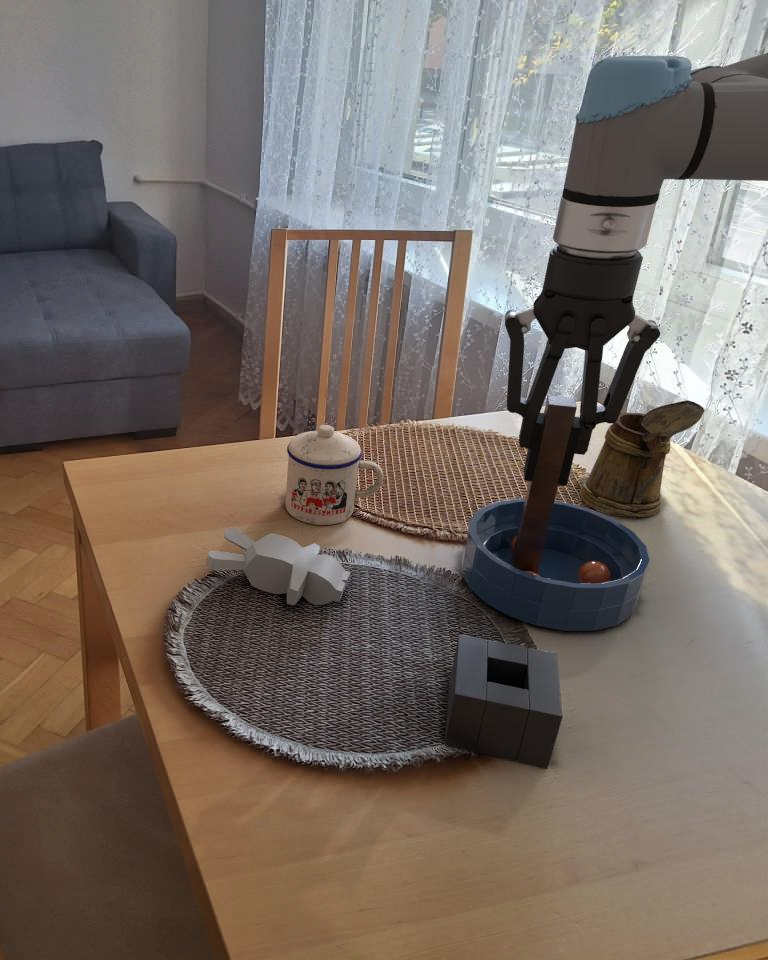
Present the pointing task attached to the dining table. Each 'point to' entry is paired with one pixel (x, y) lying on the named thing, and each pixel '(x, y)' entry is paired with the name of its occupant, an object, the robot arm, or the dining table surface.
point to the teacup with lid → (325, 476)
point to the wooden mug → (636, 460)
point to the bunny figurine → (283, 567)
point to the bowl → (555, 567)
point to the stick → (544, 483)
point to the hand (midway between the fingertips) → (544, 476)
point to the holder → (504, 701)
